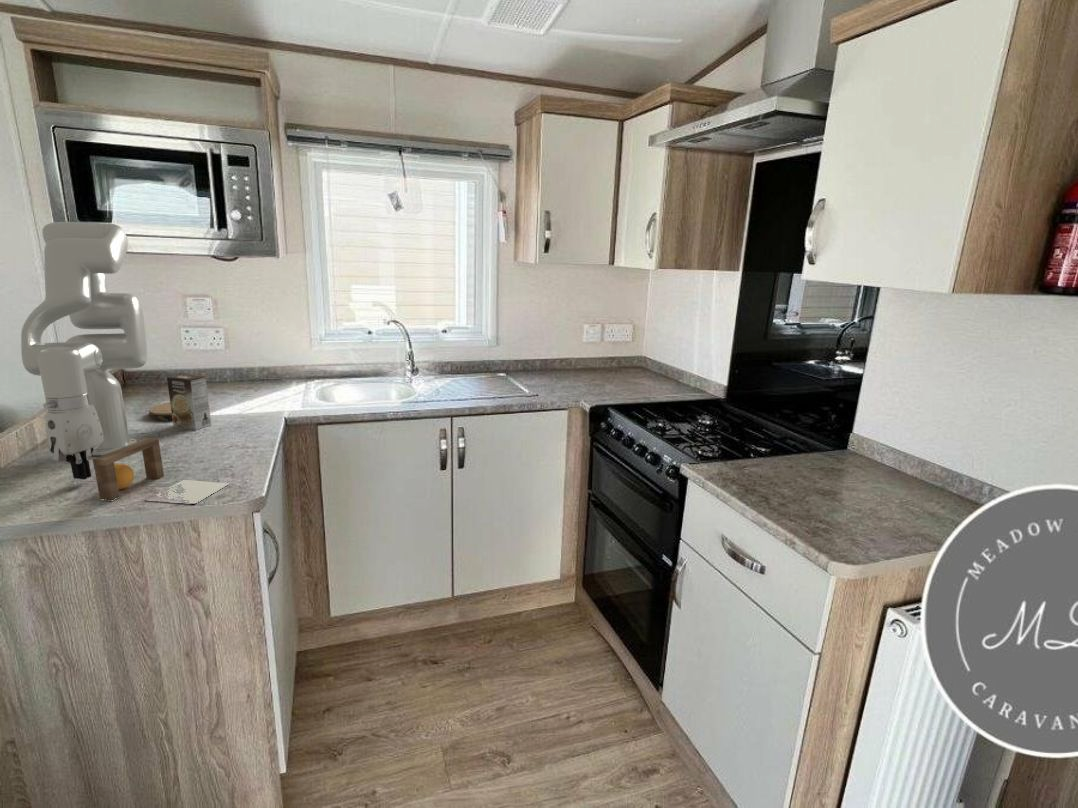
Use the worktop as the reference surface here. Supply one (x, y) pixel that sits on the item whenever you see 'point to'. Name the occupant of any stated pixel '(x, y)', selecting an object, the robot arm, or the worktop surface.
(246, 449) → the worktop surface
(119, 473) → the ball
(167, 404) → the wood slice
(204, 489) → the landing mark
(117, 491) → the bridge
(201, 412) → the coffee box
